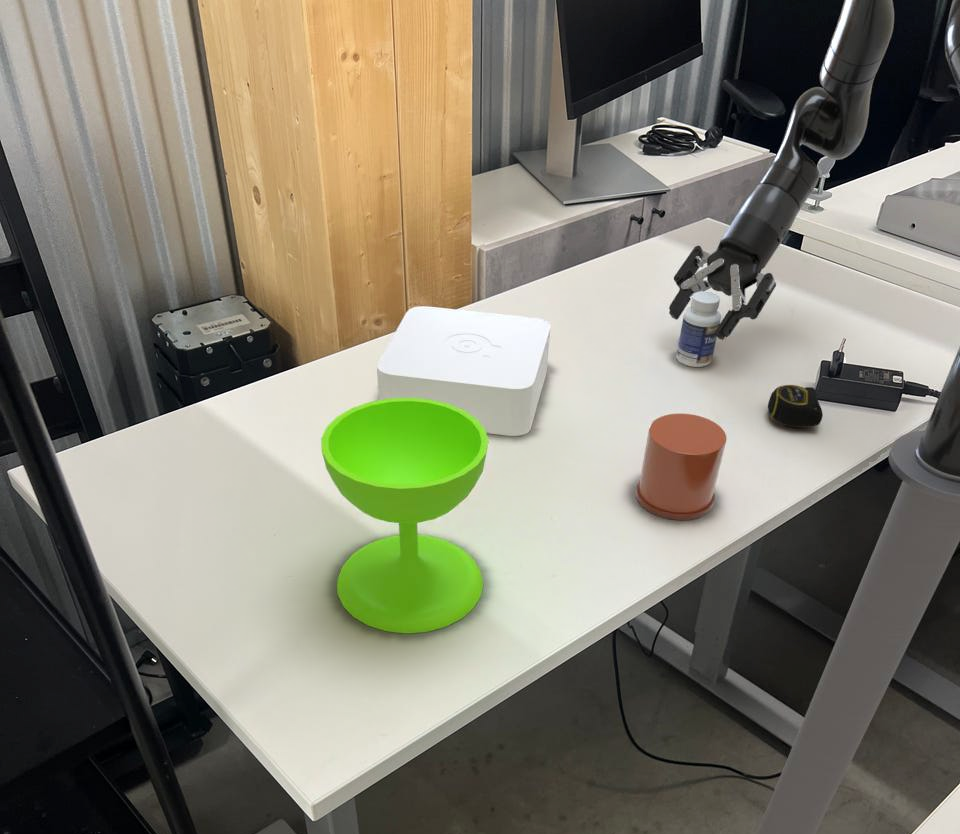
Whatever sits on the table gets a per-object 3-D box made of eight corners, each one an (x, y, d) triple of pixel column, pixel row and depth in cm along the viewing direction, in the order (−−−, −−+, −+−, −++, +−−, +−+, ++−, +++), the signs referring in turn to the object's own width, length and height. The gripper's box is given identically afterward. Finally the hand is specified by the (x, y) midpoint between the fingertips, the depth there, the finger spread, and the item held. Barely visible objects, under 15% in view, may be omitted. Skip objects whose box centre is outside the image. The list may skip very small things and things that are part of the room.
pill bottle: (703, 371, 137) (717, 308, 130) (670, 361, 139) (681, 298, 132) (716, 357, 140) (730, 294, 133) (684, 348, 142) (696, 285, 135)
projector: (550, 359, 138) (554, 315, 133) (528, 438, 122) (531, 391, 117) (414, 344, 140) (413, 300, 136) (375, 419, 125) (372, 372, 120)
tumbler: (729, 505, 113) (746, 441, 106) (669, 529, 109) (683, 464, 102) (678, 467, 118) (691, 404, 112) (619, 488, 114) (629, 424, 108)
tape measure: (818, 434, 125) (826, 410, 122) (767, 429, 125) (774, 405, 123) (812, 409, 130) (819, 384, 127) (762, 404, 130) (769, 380, 128)
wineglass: (413, 520, 109) (409, 381, 96) (513, 583, 101) (523, 441, 88) (306, 582, 100) (286, 438, 88) (406, 656, 92) (400, 510, 80)
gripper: (712, 198, 133) (648, 297, 135) (796, 227, 126) (728, 331, 128) (726, 227, 139) (665, 321, 142) (807, 256, 132) (741, 355, 134)
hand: (695, 326), depth 135 cm, fingers open, 8 cm apart
